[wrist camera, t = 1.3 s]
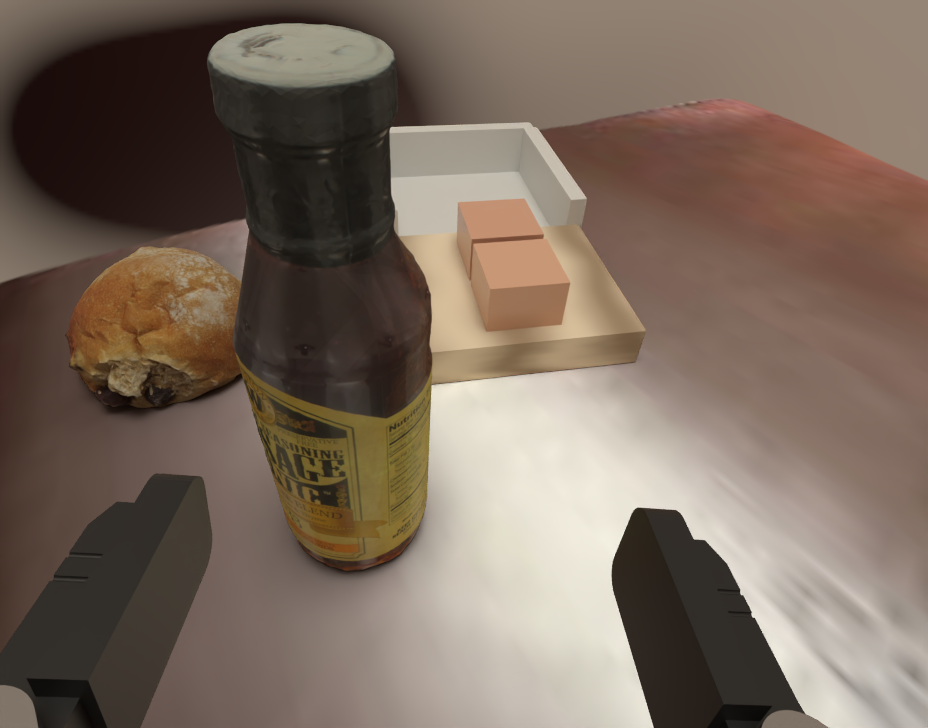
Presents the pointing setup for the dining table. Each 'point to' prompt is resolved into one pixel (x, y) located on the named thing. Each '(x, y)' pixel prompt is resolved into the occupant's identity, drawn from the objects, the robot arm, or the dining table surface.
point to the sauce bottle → (328, 287)
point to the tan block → (518, 284)
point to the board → (528, 349)
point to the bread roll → (156, 329)
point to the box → (476, 175)
